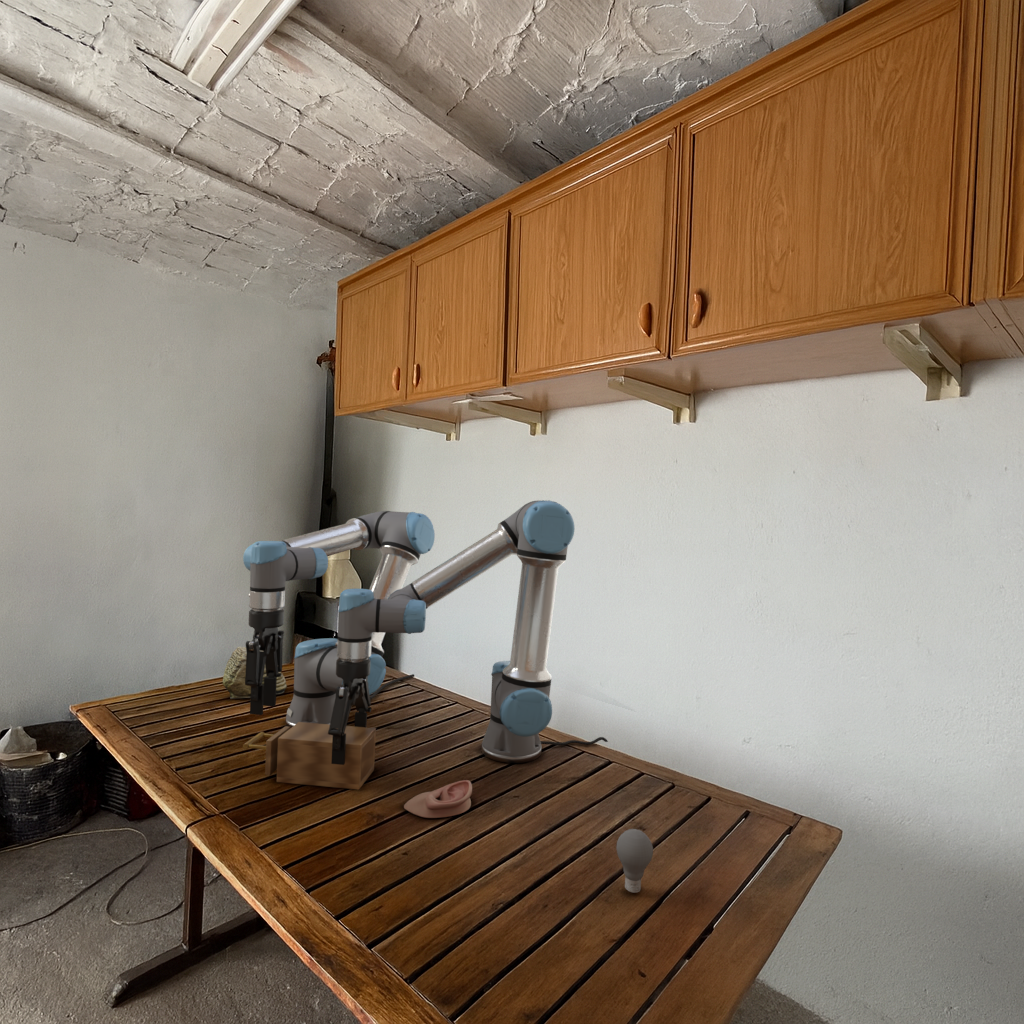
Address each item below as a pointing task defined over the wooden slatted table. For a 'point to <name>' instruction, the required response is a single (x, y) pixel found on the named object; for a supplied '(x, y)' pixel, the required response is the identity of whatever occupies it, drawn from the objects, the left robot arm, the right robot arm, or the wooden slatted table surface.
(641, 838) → the light bulb
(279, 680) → the fossil
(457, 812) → the anatomical model
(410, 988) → the wooden slatted table surface
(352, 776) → the cabinet
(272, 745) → the drawer
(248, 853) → the wooden slatted table surface
